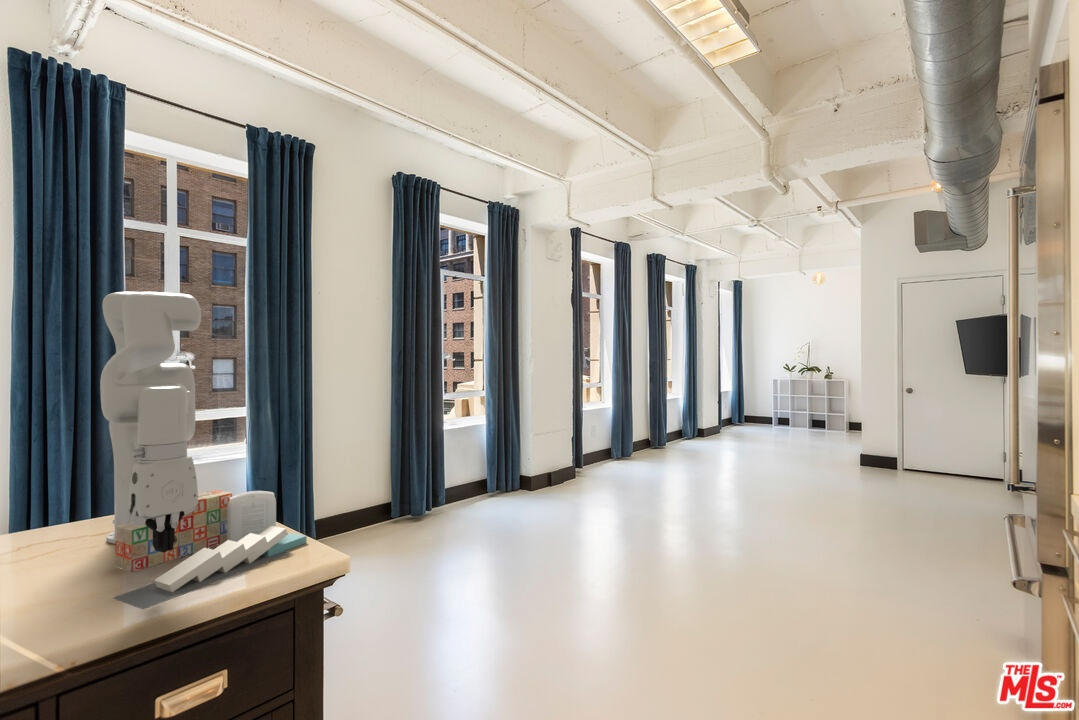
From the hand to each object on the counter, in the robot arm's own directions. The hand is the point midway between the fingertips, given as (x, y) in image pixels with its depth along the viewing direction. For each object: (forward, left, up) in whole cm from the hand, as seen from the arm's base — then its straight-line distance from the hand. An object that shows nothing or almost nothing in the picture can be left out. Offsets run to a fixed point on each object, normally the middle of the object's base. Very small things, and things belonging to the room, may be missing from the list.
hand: (163, 549), depth 102 cm
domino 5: (0, +20, -7) cm, 21 cm away
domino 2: (0, +5, -7) cm, 8 cm away
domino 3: (0, +10, -7) cm, 12 cm away
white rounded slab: (-10, +25, -8) cm, 28 cm away
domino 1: (0, 0, -7) cm, 7 cm away
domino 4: (0, +15, -7) cm, 17 cm away
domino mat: (0, +9, -8) cm, 12 cm away
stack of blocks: (-18, +13, -8) cm, 23 cm away
